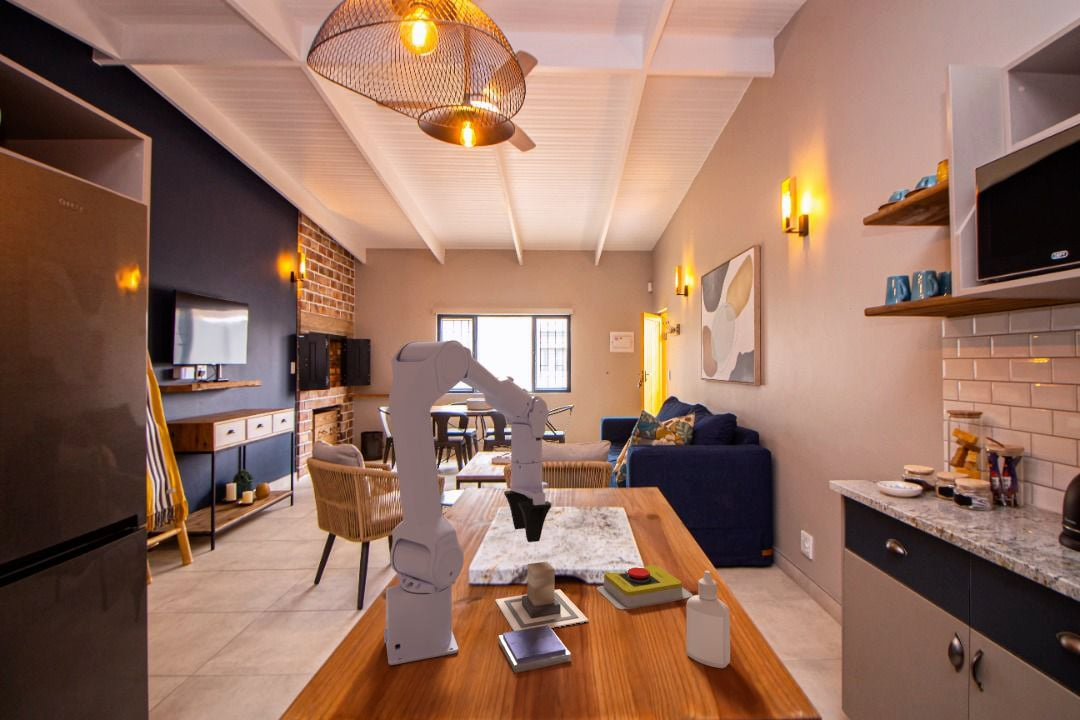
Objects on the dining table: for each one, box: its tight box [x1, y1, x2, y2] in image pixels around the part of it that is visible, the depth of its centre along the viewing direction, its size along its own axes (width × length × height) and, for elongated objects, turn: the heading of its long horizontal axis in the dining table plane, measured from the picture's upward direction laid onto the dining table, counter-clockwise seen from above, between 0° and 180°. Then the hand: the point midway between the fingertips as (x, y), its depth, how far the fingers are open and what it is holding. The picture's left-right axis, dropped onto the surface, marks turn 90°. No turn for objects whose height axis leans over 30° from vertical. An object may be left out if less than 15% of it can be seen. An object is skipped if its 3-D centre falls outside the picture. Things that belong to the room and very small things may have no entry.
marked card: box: [495, 588, 590, 631], centre depth 84 cm, size 12×12×1 cm
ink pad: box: [498, 625, 572, 674], centre depth 72 cm, size 8×8×2 cm
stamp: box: [522, 561, 561, 619], centre depth 85 cm, size 5×5×7 cm
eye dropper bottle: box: [685, 570, 731, 669], centre depth 71 cm, size 4×6×12 cm
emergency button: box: [596, 564, 694, 610], centre depth 92 cm, size 9×4×15 cm
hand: (526, 534), depth 94 cm, fingers open, 7 cm apart
